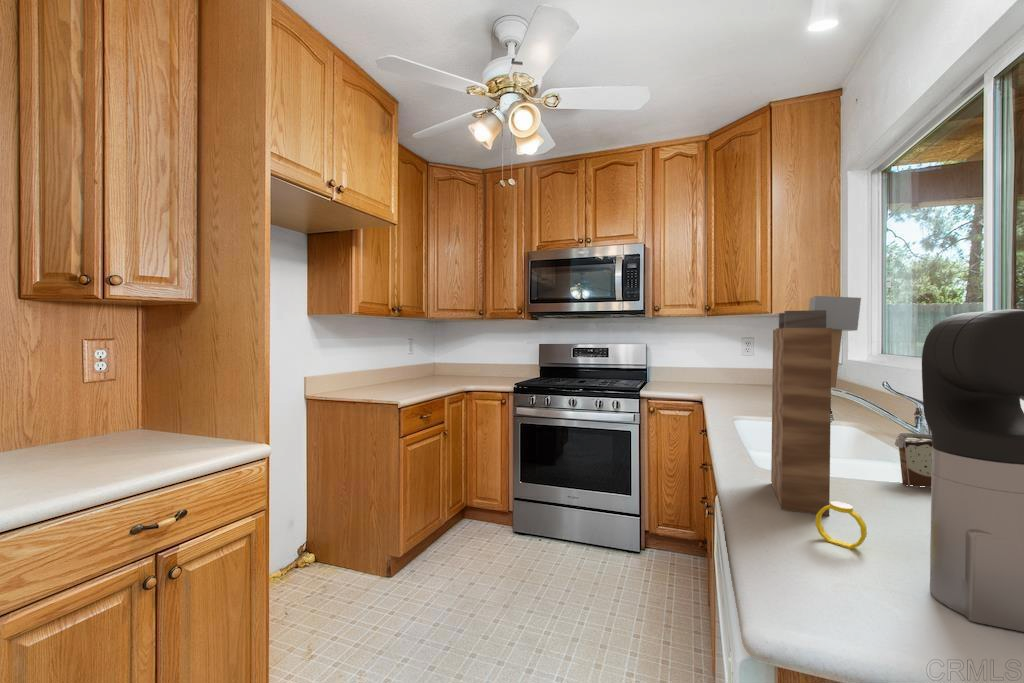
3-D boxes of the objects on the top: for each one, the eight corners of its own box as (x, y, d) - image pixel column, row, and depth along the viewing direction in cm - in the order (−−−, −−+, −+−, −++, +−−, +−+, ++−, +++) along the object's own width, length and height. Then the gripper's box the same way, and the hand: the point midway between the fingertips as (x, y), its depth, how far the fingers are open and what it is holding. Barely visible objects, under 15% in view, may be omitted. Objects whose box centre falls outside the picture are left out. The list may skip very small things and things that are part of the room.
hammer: (806, 384, 86) (850, 389, 84) (815, 295, 86) (861, 297, 83) (800, 381, 92) (842, 386, 89) (810, 298, 91) (852, 300, 88)
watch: (866, 550, 65) (871, 510, 64) (860, 556, 63) (865, 515, 63) (818, 533, 70) (822, 495, 69) (811, 538, 68) (815, 499, 67)
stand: (829, 516, 77) (832, 310, 77) (781, 509, 80) (784, 310, 79) (810, 488, 91) (813, 314, 91) (771, 483, 94) (773, 315, 94)
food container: (940, 479, 98) (941, 433, 98) (966, 489, 91) (967, 440, 91) (879, 477, 99) (880, 432, 99) (900, 486, 93) (901, 438, 93)
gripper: (1076, 416, 66) (952, 358, 71) (1014, 403, 79) (913, 355, 84) (1115, 372, 64) (985, 316, 70) (1045, 367, 78) (940, 320, 83)
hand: (946, 337), depth 77 cm, fingers open, 8 cm apart
